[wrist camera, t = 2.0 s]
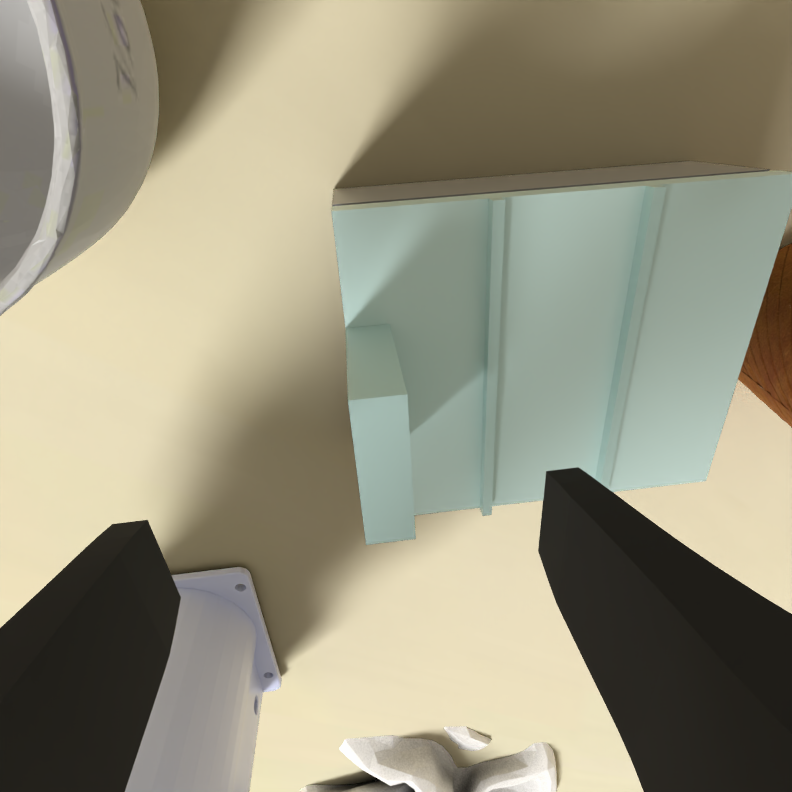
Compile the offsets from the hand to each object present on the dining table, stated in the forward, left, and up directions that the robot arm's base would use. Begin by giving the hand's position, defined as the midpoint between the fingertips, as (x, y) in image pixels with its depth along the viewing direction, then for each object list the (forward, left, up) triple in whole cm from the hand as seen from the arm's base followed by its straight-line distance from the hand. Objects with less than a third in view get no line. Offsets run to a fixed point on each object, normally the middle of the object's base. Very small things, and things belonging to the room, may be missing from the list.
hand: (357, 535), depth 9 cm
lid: (0, -6, -7) cm, 9 cm away
